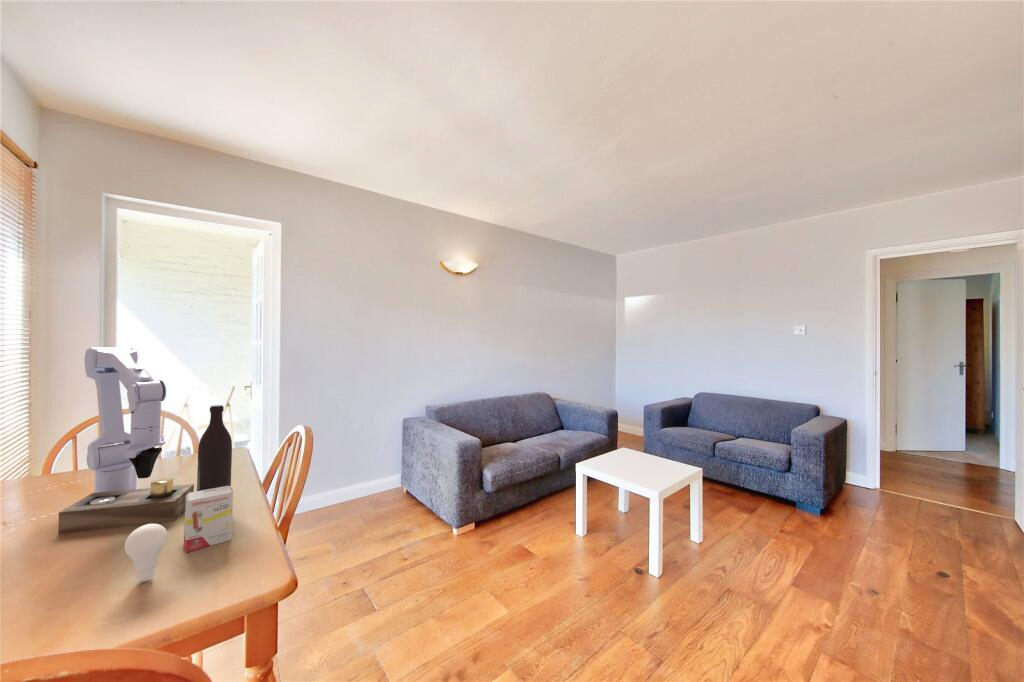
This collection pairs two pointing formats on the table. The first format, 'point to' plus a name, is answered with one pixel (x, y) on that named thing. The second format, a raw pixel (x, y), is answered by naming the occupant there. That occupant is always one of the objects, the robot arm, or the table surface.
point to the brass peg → (161, 488)
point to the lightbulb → (146, 549)
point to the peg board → (123, 509)
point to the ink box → (208, 517)
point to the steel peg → (102, 500)
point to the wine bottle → (214, 453)
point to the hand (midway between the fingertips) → (144, 477)
